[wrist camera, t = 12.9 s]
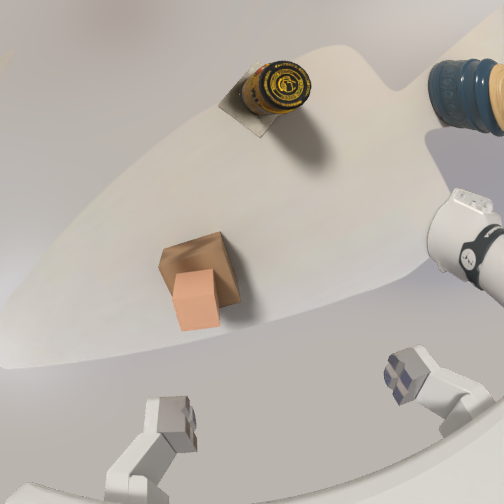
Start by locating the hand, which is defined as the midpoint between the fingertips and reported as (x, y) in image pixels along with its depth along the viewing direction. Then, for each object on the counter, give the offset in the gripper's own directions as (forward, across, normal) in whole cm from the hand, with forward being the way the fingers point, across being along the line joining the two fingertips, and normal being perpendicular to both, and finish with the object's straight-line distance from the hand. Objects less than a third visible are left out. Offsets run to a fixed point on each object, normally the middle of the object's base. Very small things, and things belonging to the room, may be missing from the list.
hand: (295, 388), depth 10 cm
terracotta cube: (+27, +6, +12) cm, 30 cm away
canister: (+33, -41, -16) cm, 55 cm away
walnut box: (+33, +6, +12) cm, 36 cm away
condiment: (+33, -5, -12) cm, 36 cm away
